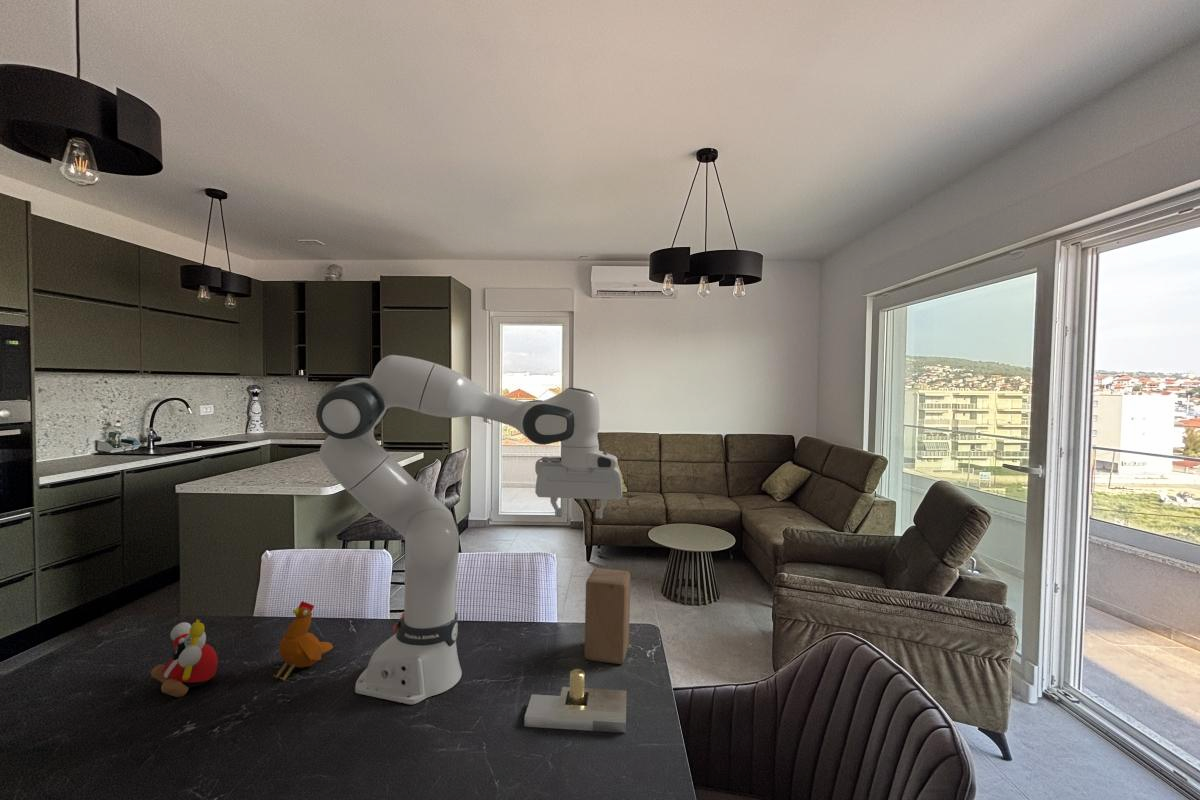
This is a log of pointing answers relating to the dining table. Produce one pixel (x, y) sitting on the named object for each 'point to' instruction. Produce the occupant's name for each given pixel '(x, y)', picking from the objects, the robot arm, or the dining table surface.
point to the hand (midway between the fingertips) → (578, 517)
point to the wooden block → (607, 615)
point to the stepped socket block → (579, 711)
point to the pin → (577, 687)
